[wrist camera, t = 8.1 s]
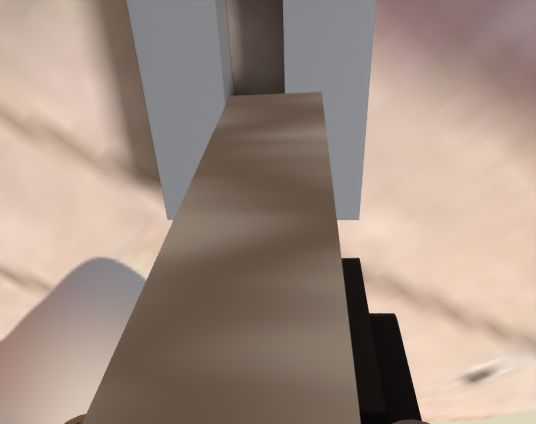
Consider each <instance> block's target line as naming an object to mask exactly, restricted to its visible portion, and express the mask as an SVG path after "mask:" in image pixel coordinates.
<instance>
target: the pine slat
mask: <svg viewBox="0 0 536 424" xmlns="http://www.w3.org/2000/svg"><path fill="white" fill-rule="evenodd" d="M82 424H361V421H360V413H359V404H358V396H357V387H356V379H355V370H354V362H353V353H352V345H351V336H350V328H349V319H348V311H347V302H346V294H345V285H344V277H343V268H342V259H341V251H340V242H339V234H338V225H337V217H336V208H335V200H334V191H333V183H332V174H331V166H330V157H329V149H328V140H327V132H326V123H325V115H324V106H323V98H322V92H306V93H284V94H261V95H239V96H229V98H228V100H227V103H226V105H225V107H224V109H223V112H222V114H221V116H220V118H219V120H218V123H217V125H216V127H215V129H214V132H213V134H212V136H211V138H210V141H209V143H208V145H207V147H206V149H205V152H204V154H203V156H202V158H201V161H200V163H199V165H198V167H197V169H196V172H195V174H194V176H193V178H192V181H191V183H190V185H189V187H188V189H187V192H186V194H185V196H184V198H183V201H182V203H181V205H180V207H179V209H178V212H177V214H176V216H175V218H174V221H173V223H172V225H171V227H170V229H169V232H168V234H167V236H166V238H165V241H164V243H163V245H162V247H161V250H160V252H159V254H158V256H157V258H156V261H155V263H154V265H153V267H152V270H151V272H150V274H149V276H148V278H147V281H146V283H145V285H144V287H143V290H142V292H141V294H140V296H139V298H138V301H137V303H136V305H135V307H134V310H133V312H132V314H131V317H130V319H129V321H128V323H127V325H126V327H125V330H124V332H123V334H122V337H121V339H120V341H119V343H118V345H117V347H116V350H115V352H114V354H113V356H112V358H111V361H110V363H109V365H108V368H107V370H106V372H105V374H104V376H103V379H102V381H101V383H100V385H99V387H98V390H97V392H96V394H95V396H94V399H93V401H92V403H91V405H90V408H89V410H88V412H87V414H86V416H85V419H84V421H83V423H82Z"/></svg>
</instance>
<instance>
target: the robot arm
mask: <svg viewBox="0 0 536 424" xmlns="http://www.w3.org/2000/svg"><path fill="white" fill-rule="evenodd" d="M341 259H342V268H343V277H344V285H345V294H346V302H347V311H348V319H349V328H350V336H351V345H352V353H353V362H354V370H355V379H356V387H357V396H358V404H359V413H360V421H361V424H429V423H427V422H423V421H422V420H421V415H420V411H419V407H418V403H417V399H416V395H415V391H414V387H413V383H412V378H411V374H410V370H409V366H408V362H407V358H406V354H405V350H404V345H403V341H402V337H401V333H400V329H399V325H398V321H397V318H396V315H395V314H394V313H369V310H368V304H367V298H366V293H365V287H364V281H363V275H362V269H361V264H360V259H359V258H341ZM85 416H86V414H84V415H80V416H77V417H75V418H73V419H71V420H69V421H67V422H66V423H65V424H82V423H83V421H84V419H85Z"/></svg>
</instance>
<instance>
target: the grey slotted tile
mask: <svg viewBox="0 0 536 424" xmlns="http://www.w3.org/2000/svg"><path fill="white" fill-rule="evenodd" d="M126 2H127V7H128V12H129V18H130V23H131V28H132V34H133V39H134V44H135V49H136V55H137V60H138V65H139V71H140V76H141V81H142V87H143V92H144V97H145V102H146V108H147V113H148V118H149V124H150V129H151V134H152V140H153V145H154V150H155V155H156V161H157V166H158V171H159V177H160V182H161V187H162V193H163V198H164V203H165V208H166V214H167V219H168V220H174V218H175V216H176V214H177V212H178V209H179V207H180V205H181V203H182V201H183V198H184V196H185V194H186V192H187V189H188V187H189V185H190V183H191V181H192V178H193V176H194V174H195V172H196V169H197V167H198V165H199V163H200V161H201V158H202V156H203V154H204V152H205V149H206V147H207V145H208V143H209V141H210V138H211V136H212V134H213V132H214V129H215V127H216V125H217V123H218V120H219V118H220V116H221V114H222V112H223V109H224V107H225V105H226V103H227V100H228V98H229V96H234V87H233V75H232V63H231V51H230V39H229V27H228V14H227V2H226V0H126ZM375 5H376V0H283V27H284V72H285V93H306V92H322V98H323V106H324V115H325V123H326V132H327V140H328V149H329V157H330V166H331V174H332V183H333V191H334V200H335V208H336V217H337V220H359V213H360V200H361V187H362V174H363V161H364V148H365V135H366V122H367V109H368V96H369V83H370V70H371V57H372V44H373V31H374V18H375Z"/></svg>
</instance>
